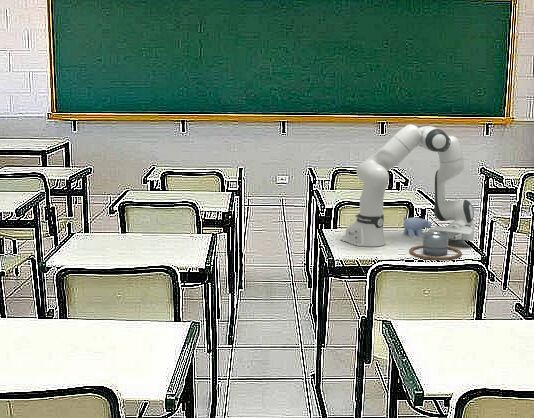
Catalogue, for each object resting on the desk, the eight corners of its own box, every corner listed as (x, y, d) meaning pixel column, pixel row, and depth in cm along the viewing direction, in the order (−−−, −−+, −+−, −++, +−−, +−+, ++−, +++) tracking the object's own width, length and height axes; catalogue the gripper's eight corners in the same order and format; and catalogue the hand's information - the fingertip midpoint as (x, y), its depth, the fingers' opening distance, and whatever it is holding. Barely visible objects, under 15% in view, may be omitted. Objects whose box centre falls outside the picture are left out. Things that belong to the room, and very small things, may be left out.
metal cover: (417, 253, 345) (418, 231, 343) (432, 249, 352) (433, 228, 350) (437, 258, 337) (438, 236, 335) (452, 253, 344) (453, 232, 342)
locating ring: (399, 252, 346) (399, 250, 346) (430, 244, 361) (430, 242, 361) (440, 263, 329) (440, 260, 329) (471, 254, 344) (471, 251, 343)
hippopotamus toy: (434, 236, 377) (435, 217, 375) (406, 237, 374) (406, 218, 373) (426, 231, 387) (427, 213, 386) (398, 232, 385) (399, 214, 383)
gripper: (435, 221, 369) (424, 227, 358) (476, 226, 357) (466, 232, 346) (435, 234, 370) (424, 240, 359) (476, 239, 359) (465, 246, 348)
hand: (445, 236), depth 352 cm, fingers open, 8 cm apart
